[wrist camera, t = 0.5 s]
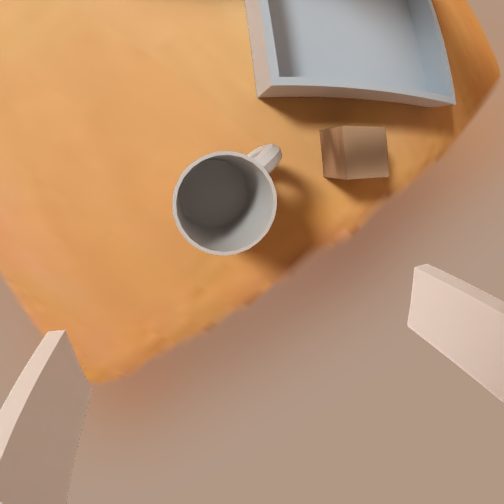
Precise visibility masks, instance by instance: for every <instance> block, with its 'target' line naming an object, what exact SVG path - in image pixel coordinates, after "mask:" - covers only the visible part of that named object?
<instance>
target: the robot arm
mask: <svg viewBox="0 0 504 504" xmlns="http://www.w3.org/2000/svg"><path fill="white" fill-rule="evenodd" d="M407 326H408V327H409V328H410V329H412V330H413V331H414V332H416V333H417V334H418V335H420V336H421V337H422V338H424V339H425V340H426V341H427V342H429V343H430V344H431V345H432V346H434V347H435V348H436V349H438V350H439V351H440V352H441V353H443V354H444V355H445V356H446V357H448V358H449V359H450V360H452V361H453V362H454V363H455V364H457V365H458V366H459V367H460V368H462V369H463V370H464V371H465V372H467V373H468V374H469V375H470V376H471V377H473V378H474V379H475V380H476V381H478V382H479V383H480V384H481V385H482V386H484V387H485V388H486V389H487V390H489V391H490V392H491V393H492V394H493V395H495V396H496V397H497V398H498V399H499V400H501V401H502V402H503V403H504V302H503V301H501V300H499V299H498V298H495V297H494V296H491V295H490V294H488V293H486V292H484V291H482V290H480V289H478V288H476V287H474V286H472V285H470V284H468V283H466V282H464V281H462V280H460V279H458V278H456V277H454V276H452V275H450V274H448V273H446V272H444V271H442V270H440V269H438V268H435V267H433V266H431V265H429V264H424V265H420V266H416V267H414V279H413V287H412V296H411V303H410V310H409V317H408V324H407ZM91 395H92V389H91V388H90V385H89V383H88V381H87V379H86V377H85V375H84V373H83V371H82V369H81V366H80V364H79V362H78V360H77V357H76V355H75V353H74V350H73V348H72V346H71V343H70V341H69V338H68V336H67V333H66V330H60V331H49V332H47V334H46V335H45V337H44V338H43V340H42V341H41V343H40V344H39V346H38V347H37V349H36V350H35V352H34V353H33V355H32V357H31V358H30V360H29V362H28V363H27V364H26V366H25V368H24V370H23V371H22V373H21V374H20V376H19V378H18V379H17V381H16V383H15V385H14V386H13V388H12V390H11V392H10V393H9V395H8V397H7V399H6V401H5V402H4V404H3V406H2V408H1V410H0V504H67V498H68V492H69V486H70V481H71V476H72V470H73V466H74V461H75V456H76V452H77V448H78V443H79V439H80V435H81V431H82V427H83V423H84V420H85V416H86V412H87V408H88V405H89V402H90V398H91Z"/></svg>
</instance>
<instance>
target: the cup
mask: <svg viewBox="0 0 504 504" xmlns="http://www.w3.org/2000/svg"><path fill="white" fill-rule="evenodd" d="M281 158H282V153H281V150H280V147H278V146H276V145H274V144H272V143H270V144H266V145H263V146H260V147H258V148H256V149H255V150H253V151H252V152H250V153H249V154H247V155H245V154H243V153H238V152H232V151H220V152H213V153H210V154H207V155H205V156H202V157H200V158H199V159H197V160H196V161H194V162H193V163H191V164H190V165H188V167H187V168H186V169H185V170H184V171H183V173H182V174H181V176H180V178H179V180H178V182H177V184H176V186H175V189H174V194H173V200H172V207H173V216H174V219H175V222H176V224H177V227H178V229H179V231H180V232H181V233H182V235H183V236H184V237H185V239H186V240H187V241H188V242H190V243H191V244H192V245H193V246H195V247H196V248H197V249H200V250H202V251H204V252H207V253H209V254H215V255H232V254H237V253H240V252H243V251H245V250H248V249H250V248H251V247H252V246H254V245H255V244H257V243H258V242H259V241H260V240H261V239H262V238H263V237H264V236H265V235H266V233H267V232H268V231H269V229H270V227H271V225H272V223H273V221H274V218H275V213H276V208H277V195H276V190H275V187H274V184H273V181H272V179H271V177H270V176H269V174H270V173H271V172H272V171H273V170H274V169H275V168H276V166H277V165H278V163H279V162H280V160H281Z"/></svg>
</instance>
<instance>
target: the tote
mask: <svg viewBox="0 0 504 504" xmlns="http://www.w3.org/2000/svg"><path fill="white" fill-rule="evenodd" d="M244 1H245V8H246V15H247V23H248V30H249V37H250V45H251V52H252V60H253V68H254V76H255V84H256V92H257V98H265V97H333V98H352V99H365V100H376V101H386V102H395V103H402V104H410V105H416V106H423V107H429V108H431V107H439V106H448V105H456V99H455V92H454V86H453V81H452V75H451V70H450V65H449V61H448V56H447V52H446V48H445V44H444V40H443V36H442V33H441V29H440V26H439V22H438V19H437V16H436V13H435V10H434V7H433V4H432V1H431V0H244Z"/></svg>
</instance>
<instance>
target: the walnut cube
mask: <svg viewBox="0 0 504 504" xmlns="http://www.w3.org/2000/svg"><path fill="white" fill-rule="evenodd" d="M320 140H321V150H322V161H323V173H324V177H329V178H337V179H345V180H351V179H364V178H379V177H389V165H388V151H387V139H386V128H385V127H374V126H339V127H334V128H329V129H324V130H320Z"/></svg>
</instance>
